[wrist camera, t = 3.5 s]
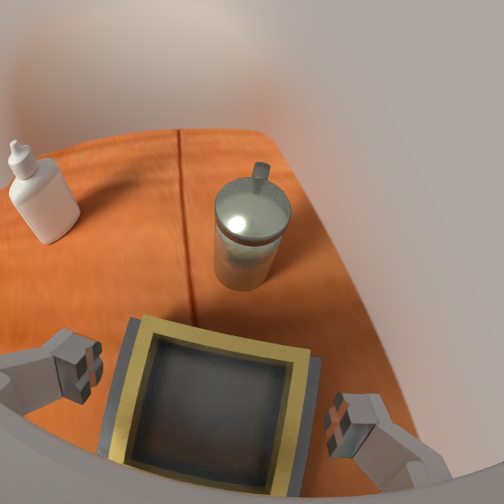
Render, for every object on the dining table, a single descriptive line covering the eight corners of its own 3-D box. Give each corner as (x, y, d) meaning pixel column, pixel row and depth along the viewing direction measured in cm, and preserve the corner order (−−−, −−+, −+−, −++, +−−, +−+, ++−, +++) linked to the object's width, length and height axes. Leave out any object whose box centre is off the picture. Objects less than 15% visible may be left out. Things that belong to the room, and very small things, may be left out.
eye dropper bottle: (83, 233, 27) (38, 146, 17) (39, 249, 25) (-18, 172, 15) (80, 201, 29) (44, 116, 19) (39, 217, 27) (-8, 140, 17)
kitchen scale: (265, 567, 14) (278, 600, 8) (101, 533, 13) (76, 557, 8) (306, 365, 24) (332, 352, 18) (142, 330, 23) (122, 308, 18)
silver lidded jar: (207, 285, 26) (206, 224, 18) (224, 222, 30) (230, 150, 22) (264, 297, 26) (288, 241, 18) (275, 233, 30) (297, 165, 22)
